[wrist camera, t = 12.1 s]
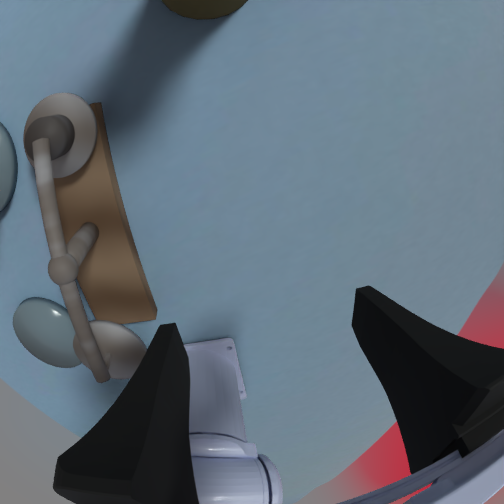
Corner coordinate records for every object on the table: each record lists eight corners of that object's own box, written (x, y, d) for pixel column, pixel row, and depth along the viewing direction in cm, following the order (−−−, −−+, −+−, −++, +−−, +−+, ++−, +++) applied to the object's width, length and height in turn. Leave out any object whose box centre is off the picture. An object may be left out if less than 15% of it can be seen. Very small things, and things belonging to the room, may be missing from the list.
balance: (163, 322, 24) (155, 405, 16) (108, 329, 23) (87, 407, 16) (99, 82, 15) (32, 75, 7) (34, 108, 14) (-46, 124, 7)
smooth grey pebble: (101, 358, 25) (99, 366, 24) (41, 361, 24) (39, 368, 23) (65, 292, 21) (61, 299, 20) (4, 301, 20) (-1, 308, 19)
